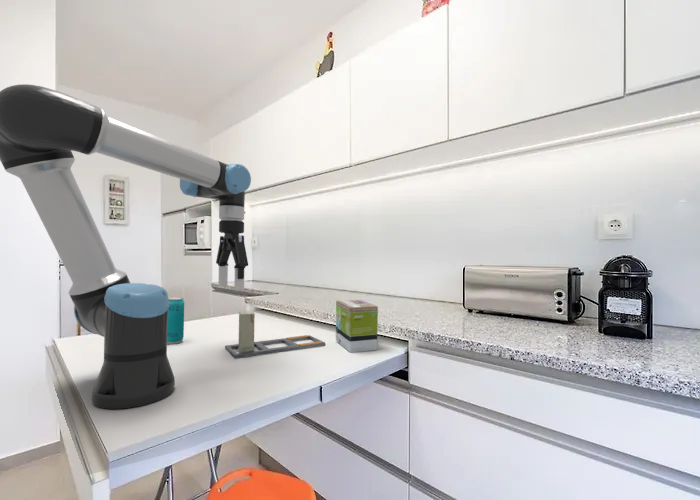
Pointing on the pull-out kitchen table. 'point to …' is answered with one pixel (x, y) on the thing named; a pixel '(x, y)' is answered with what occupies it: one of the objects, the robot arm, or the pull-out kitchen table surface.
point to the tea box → (356, 325)
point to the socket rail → (287, 341)
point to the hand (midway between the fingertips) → (230, 287)
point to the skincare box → (246, 331)
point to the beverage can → (175, 320)
